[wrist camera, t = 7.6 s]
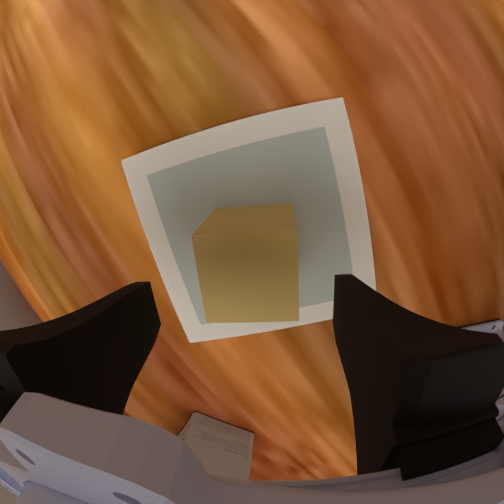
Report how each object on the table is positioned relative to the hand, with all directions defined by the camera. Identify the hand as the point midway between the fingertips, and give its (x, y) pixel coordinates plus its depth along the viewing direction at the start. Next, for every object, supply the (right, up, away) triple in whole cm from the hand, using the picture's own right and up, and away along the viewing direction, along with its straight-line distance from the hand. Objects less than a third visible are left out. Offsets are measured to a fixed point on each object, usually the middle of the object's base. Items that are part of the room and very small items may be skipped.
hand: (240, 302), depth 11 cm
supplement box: (-4, -19, +19) cm, 27 cm away
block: (+1, +3, +7) cm, 8 cm away
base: (+1, +4, +9) cm, 10 cm away
